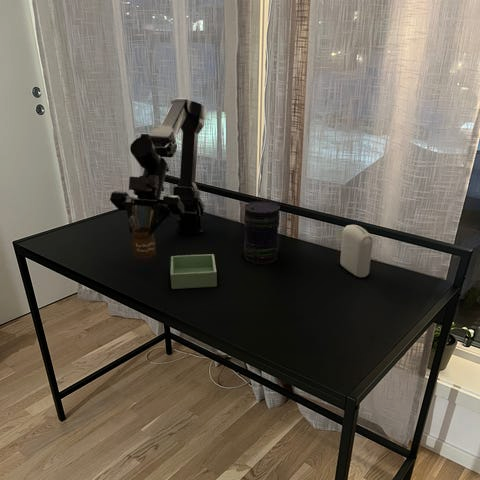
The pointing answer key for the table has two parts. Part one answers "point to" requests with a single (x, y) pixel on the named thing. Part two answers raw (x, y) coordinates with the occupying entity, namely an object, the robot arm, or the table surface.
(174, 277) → the tray
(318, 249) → the table surface
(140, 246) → the utensil holder
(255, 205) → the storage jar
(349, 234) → the photo printer
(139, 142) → the robot arm
